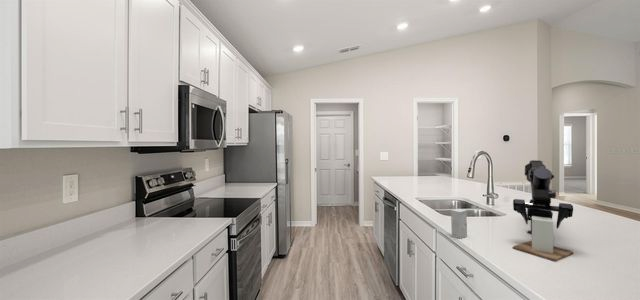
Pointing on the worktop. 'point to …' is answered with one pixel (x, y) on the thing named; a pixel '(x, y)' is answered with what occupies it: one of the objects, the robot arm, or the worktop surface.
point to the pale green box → (542, 234)
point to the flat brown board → (554, 256)
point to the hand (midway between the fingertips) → (541, 225)
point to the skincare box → (459, 223)
